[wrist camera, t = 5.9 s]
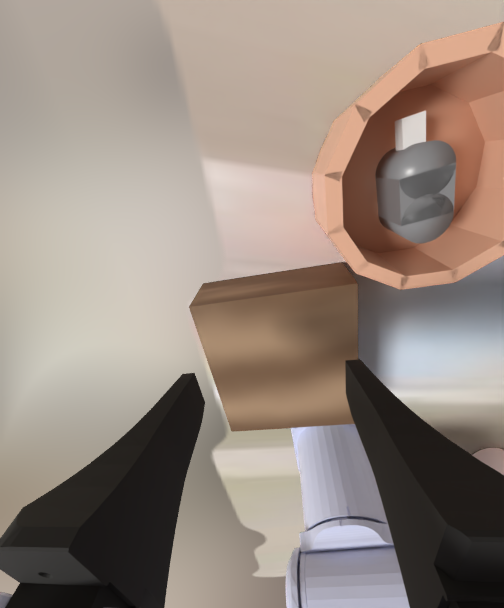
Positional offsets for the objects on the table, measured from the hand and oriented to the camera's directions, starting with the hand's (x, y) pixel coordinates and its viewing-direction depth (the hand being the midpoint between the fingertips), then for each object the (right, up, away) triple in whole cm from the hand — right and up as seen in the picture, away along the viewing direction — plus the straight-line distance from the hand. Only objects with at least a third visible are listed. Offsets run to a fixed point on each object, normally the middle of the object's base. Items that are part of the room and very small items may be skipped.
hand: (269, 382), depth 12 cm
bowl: (+8, +12, +4) cm, 15 cm away
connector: (+8, +11, +4) cm, 14 cm away
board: (+2, 0, +11) cm, 11 cm away
